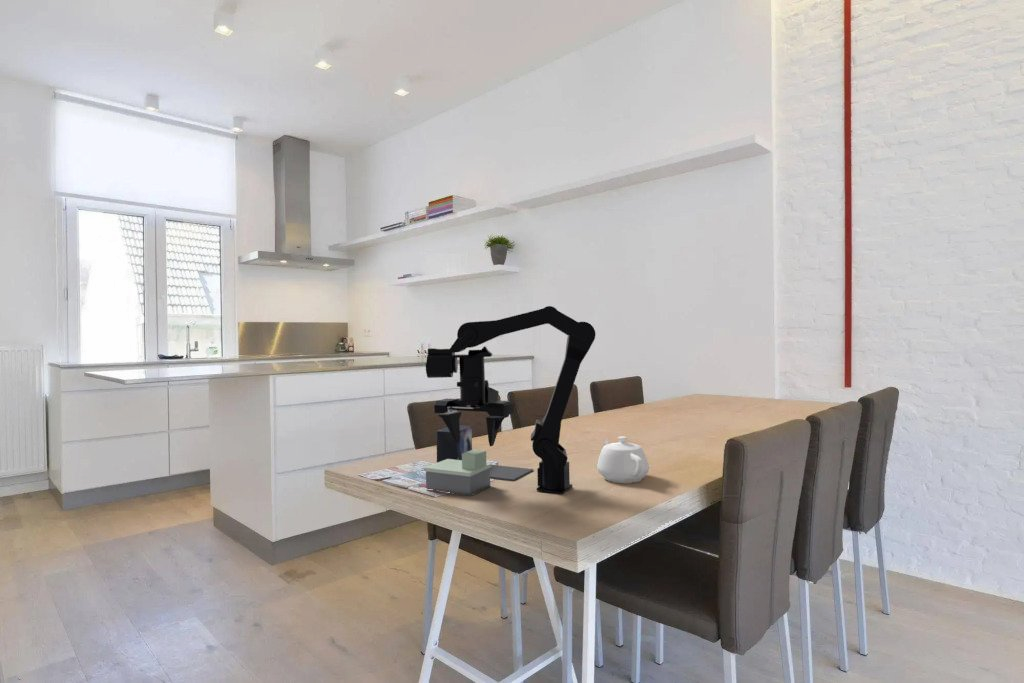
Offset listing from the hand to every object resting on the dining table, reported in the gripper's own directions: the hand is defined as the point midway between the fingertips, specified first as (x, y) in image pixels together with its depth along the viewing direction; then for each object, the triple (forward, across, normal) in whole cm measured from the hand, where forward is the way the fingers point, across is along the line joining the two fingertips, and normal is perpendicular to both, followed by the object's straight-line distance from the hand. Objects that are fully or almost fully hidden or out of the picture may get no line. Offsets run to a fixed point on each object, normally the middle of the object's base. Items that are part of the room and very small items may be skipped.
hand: (474, 444), depth 131 cm
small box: (+11, +18, -18) cm, 27 cm away
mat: (+11, +3, -16) cm, 19 cm away
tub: (+11, +5, 0) cm, 12 cm away
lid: (+6, +5, 0) cm, 8 cm away
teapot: (+11, -27, -24) cm, 38 cm away
